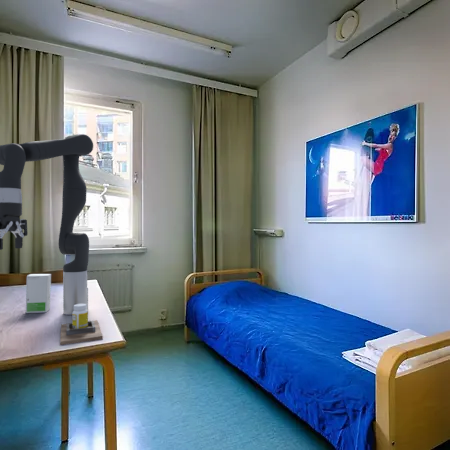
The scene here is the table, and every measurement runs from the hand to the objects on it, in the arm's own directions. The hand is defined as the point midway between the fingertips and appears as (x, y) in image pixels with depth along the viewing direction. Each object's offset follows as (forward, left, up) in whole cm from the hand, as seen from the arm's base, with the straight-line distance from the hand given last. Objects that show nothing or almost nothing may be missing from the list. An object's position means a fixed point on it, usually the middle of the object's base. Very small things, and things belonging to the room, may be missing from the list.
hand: (9, 249), depth 115 cm
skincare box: (-26, -9, -28) cm, 39 cm away
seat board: (-1, +26, -28) cm, 38 cm away
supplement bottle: (-1, +26, -27) cm, 38 cm away
